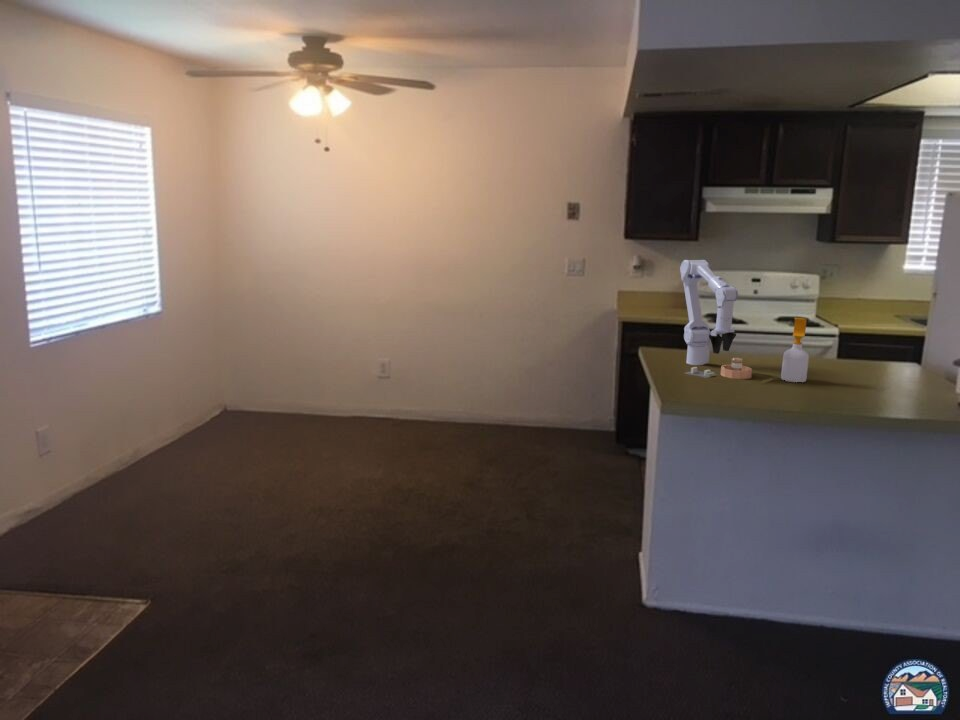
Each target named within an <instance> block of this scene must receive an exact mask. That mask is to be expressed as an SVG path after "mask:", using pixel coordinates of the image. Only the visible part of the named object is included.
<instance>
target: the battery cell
mask: <svg viewBox="0 0 960 720" xmlns="http://www.w3.org/2000/svg"><path fill="white" fill-rule="evenodd" d="M730 365H731V370H735V371H742V366H743V358H740V357H732V358H731V362H730Z"/></svg>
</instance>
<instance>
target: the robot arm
mask: <svg viewBox="0 0 960 720" xmlns="http://www.w3.org/2000/svg"><path fill="white" fill-rule="evenodd" d="M679 271H680V276H681V277H680V279H681V282H683V284H682V285H683V289H684V290H683V291H684V295H685V303H686V309H687V315H688V316H687V317H688V321H689V322H688V323H687V324H686V325H685V326H684V328H683V330H684V333H683V339H684V341H685V343H686V344H685V345H687V348H686V349H687V351H686V364H688V365H692V366H703V365H706V364H709V360H710V347H709V346H708V345H709V343H711V348H712V353H714V354H720V352H721V346H722V350H723V351H726V352H729V351H730V349H731V346H732V343H733V341H734V339H735V338H736V336H737V333H735V326H733V325H732V324H733V312H734V305H735V304H734V303H735V302H736V301H737V300H738V297H739V291H738V289H737V287H735V286H731V285H729V283H727V282H726V281H725V280H724V278H723V277H722V276H719V275H715V274H714V273H713V271H712V269H711V268H710V265H709V262H707V260H705V259H691V260H690V259H684V260H682V262H681V264H680V267H679ZM703 279H704V281H707V285H708V288H709V289H710V290H711V291H712V292H713V293H714V294H715V299H716V306H717V310H716V311H717V313H716V322H715V328H713V330H711V331H710V328H709V324H708V323H707V322H705V321H704V320H703V315H702V310H701V303H700V296H699V291H698V289H699V288H698V283H699V282H701V281H702V280H703Z"/></svg>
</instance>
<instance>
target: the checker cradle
mask: <svg viewBox="0 0 960 720" xmlns="http://www.w3.org/2000/svg"><path fill="white" fill-rule="evenodd" d="M684 374H687V375H689V376H695V377H701V378H705V379H707V378H711V377H715V376H717V374H716V373H715V371H711V369H705V370H703V371H700V370H698V367H697V366H694V367H693V366H692V367H691V368H690V371H686V372H684Z"/></svg>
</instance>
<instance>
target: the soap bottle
mask: <svg viewBox="0 0 960 720" xmlns="http://www.w3.org/2000/svg"><path fill="white" fill-rule="evenodd" d="M793 320H794V324H793V325H794V326H793V333H792V337H793V338H794V339H795V341H792V347H791V348H789V349H787V350H784V353H783V356H782V365H781V373H780V374H781V375H780V379H781V380H782V381H784V380H785V381H784V382H788V383H795V382H796V383H797V382H802V383H805V382H806V381H807V377H808V368H809V360H810V356H809V353H808V352H807V351H806V350H804V349H803V342H802V341H801V340H802V339H803V338H805V335H806V328H807V318H803V317H794V319H793Z"/></svg>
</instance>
